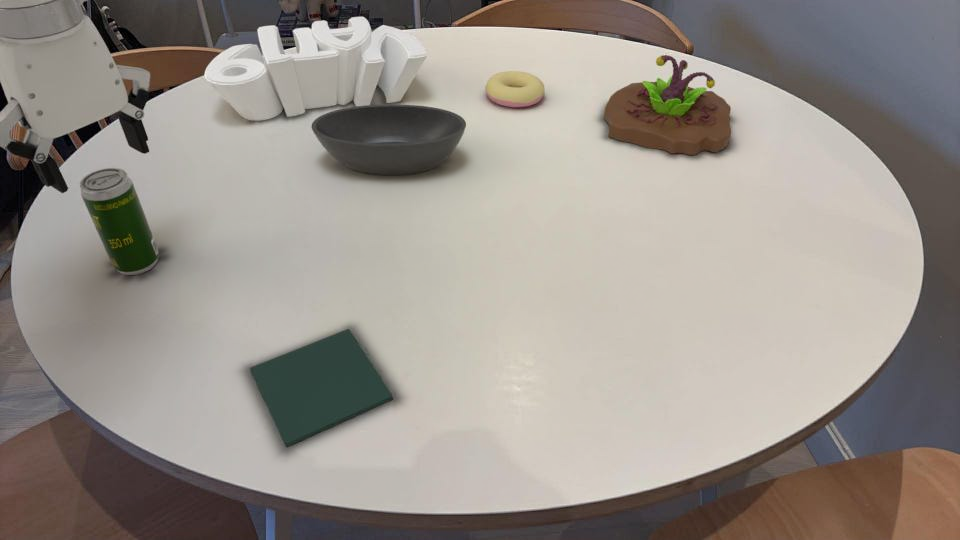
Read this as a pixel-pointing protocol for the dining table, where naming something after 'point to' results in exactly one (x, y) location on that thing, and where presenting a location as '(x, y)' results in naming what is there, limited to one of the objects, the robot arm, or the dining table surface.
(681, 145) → the plant
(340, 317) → the dining table surface
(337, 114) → the bowl
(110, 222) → the beer can
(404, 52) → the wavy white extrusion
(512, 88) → the donut
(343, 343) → the front mat
